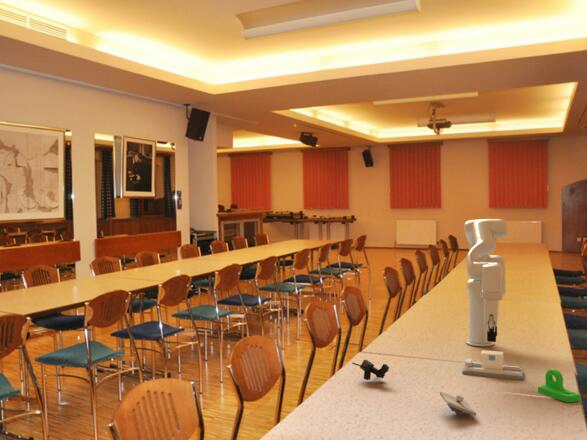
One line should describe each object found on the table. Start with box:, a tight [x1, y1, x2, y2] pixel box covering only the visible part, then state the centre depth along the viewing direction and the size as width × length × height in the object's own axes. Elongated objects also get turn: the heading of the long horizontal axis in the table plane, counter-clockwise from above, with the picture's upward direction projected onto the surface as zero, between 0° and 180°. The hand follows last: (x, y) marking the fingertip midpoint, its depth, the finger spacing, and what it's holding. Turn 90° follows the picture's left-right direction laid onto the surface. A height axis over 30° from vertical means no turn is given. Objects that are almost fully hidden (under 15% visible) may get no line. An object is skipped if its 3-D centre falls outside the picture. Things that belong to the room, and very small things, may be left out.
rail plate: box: [461, 357, 524, 381], centre depth 208 cm, size 10×22×4 cm, turn 66°
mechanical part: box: [537, 369, 581, 403], centre depth 182 cm, size 12×6×8 cm, turn 26°
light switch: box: [439, 391, 477, 417], centre depth 170 cm, size 9×10×5 cm
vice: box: [351, 359, 390, 381], centre depth 201 cm, size 18×9×11 cm
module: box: [480, 349, 504, 371], centre depth 208 cm, size 5×8×7 cm, turn 66°
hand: (492, 338), depth 207 cm, fingers open, 8 cm apart
